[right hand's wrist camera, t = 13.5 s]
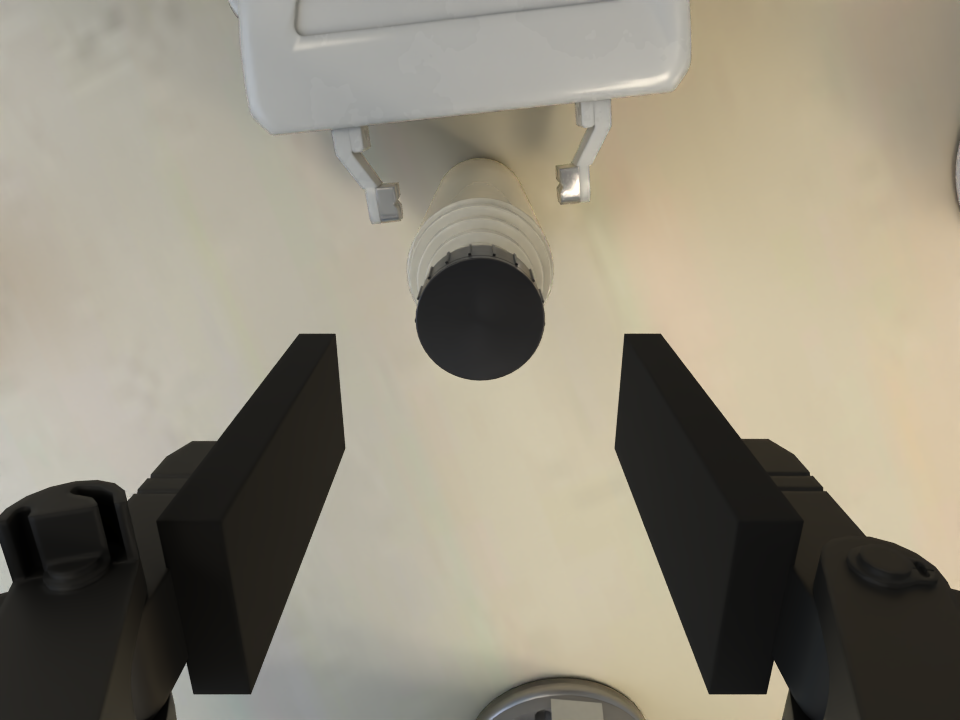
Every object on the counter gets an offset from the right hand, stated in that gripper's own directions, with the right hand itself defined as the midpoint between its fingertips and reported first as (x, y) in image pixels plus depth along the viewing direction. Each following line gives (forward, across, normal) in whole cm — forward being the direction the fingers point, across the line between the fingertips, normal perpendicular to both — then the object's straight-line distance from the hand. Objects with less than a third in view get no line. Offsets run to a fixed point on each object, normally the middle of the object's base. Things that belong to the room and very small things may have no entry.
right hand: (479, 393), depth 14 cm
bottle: (+27, 0, 0) cm, 27 cm away
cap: (+5, 0, 0) cm, 5 cm away
